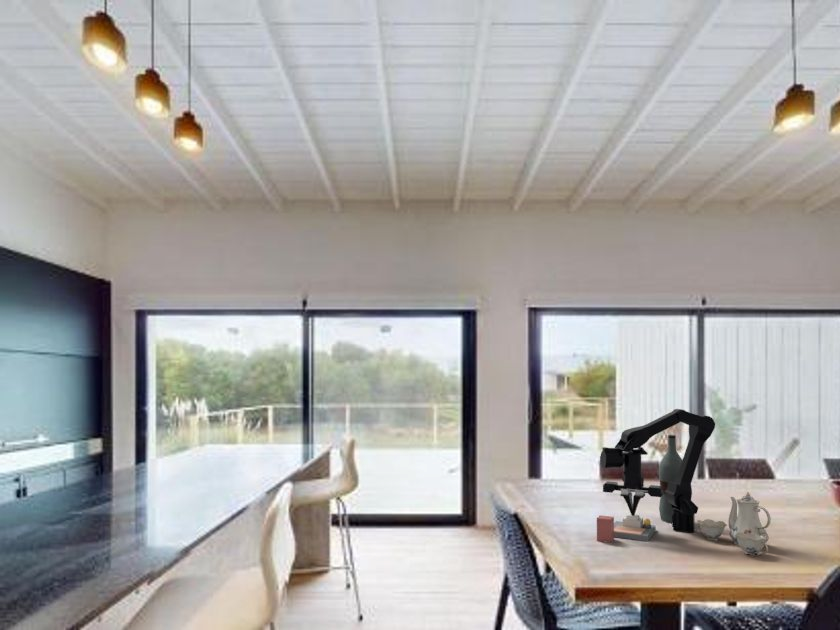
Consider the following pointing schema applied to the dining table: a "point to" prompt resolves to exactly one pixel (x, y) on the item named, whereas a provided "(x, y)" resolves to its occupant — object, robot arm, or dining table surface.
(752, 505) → the chinaware
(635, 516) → the block
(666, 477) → the bottle
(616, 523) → the panel
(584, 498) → the dining table surface
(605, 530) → the red rectangular block
